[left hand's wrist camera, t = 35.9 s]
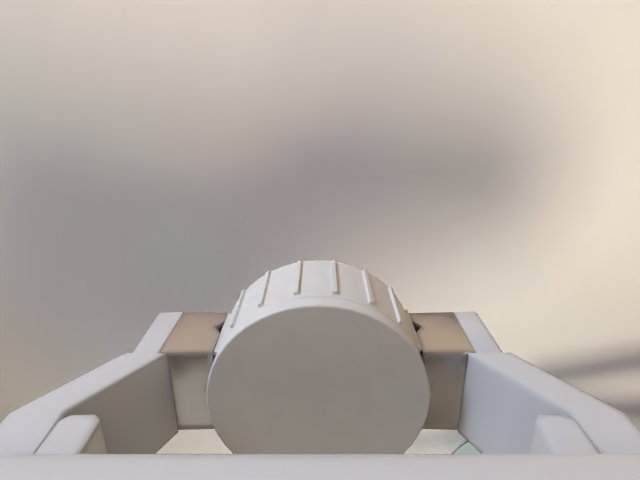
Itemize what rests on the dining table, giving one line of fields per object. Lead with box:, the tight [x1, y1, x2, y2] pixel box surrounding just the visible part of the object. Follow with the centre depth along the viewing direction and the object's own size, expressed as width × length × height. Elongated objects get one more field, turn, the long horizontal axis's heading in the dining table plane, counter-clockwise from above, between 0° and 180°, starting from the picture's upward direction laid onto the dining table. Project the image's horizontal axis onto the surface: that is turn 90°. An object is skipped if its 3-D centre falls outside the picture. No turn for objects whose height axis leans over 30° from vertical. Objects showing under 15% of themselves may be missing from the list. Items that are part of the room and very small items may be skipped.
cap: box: [206, 259, 430, 454], centre depth 9 cm, size 4×4×2 cm
